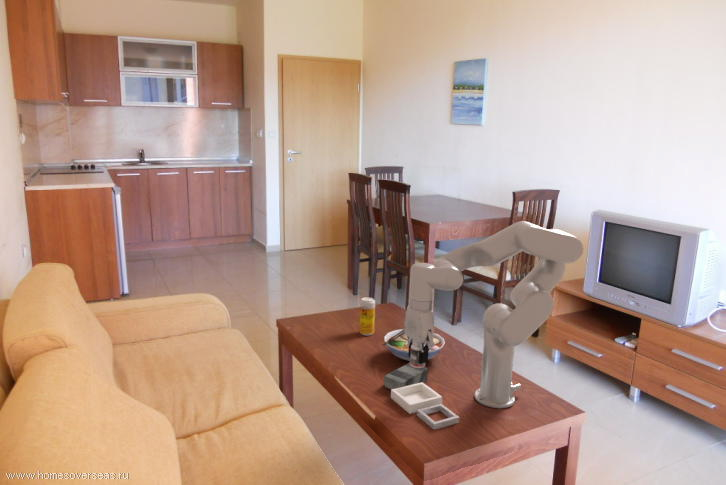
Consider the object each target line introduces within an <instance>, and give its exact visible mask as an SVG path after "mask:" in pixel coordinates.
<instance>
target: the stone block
mask: <svg viewBox="0 0 726 485" xmlns="http://www.w3.org/2000/svg"><path fill="white" fill-rule="evenodd" d="M428 376H429V369H428V367H426V366H424V367H422V368H415V367H412V366H411V365H410V362H408V363H406V364H404V365H403V366H400V367H398V368H397V369H394V370H393V371H391V372H389V373H387V374H384V377H383V386H384V388H385V389H388V390H390V391H391V390H392V389H396V388H400V387H404V386H408V385H413V384H417V383H421V382H423V383H424V384H425V383H427V382H428Z"/></svg>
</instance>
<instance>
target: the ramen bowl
mask: <svg viewBox="0 0 726 485" xmlns="http://www.w3.org/2000/svg"><path fill="white" fill-rule="evenodd" d="M383 338H384V339H383V340H384V343H383V344H382V346H386V347H387V349H388V350H389V351H390V352H391V353H392V354H393V355H394V356H396V357H397V358H400V359H401V360H405V361H408V362H410V357H409V356H408V353H409V345H410V344H408V337H407V336H406V335H405V333H404V328H402V329H401V328H400V329H395V330H391V331H389V332H387V333H386V334H385V336H383ZM433 341H434V344H435V346H434V347H432V348H431V349H430V351H428V360H430V359H432V358H434V357H436V356H437V355H438V354H439V353H440V352H441V350H442V349H443V347H444V345H445V343H446V342H445V339H444V337H442V336H441V335H439V334H437V333H435V332H434V337H433ZM425 345H426V344H425Z"/></svg>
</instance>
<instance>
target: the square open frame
mask: <svg viewBox="0 0 726 485" xmlns="http://www.w3.org/2000/svg"><path fill="white" fill-rule="evenodd" d="M438 412H441V413H442V414H443V415H444V416H446V417H447V418H444V419H440V420H437V421H435V420H434V419H432V417H430V416H429V415H431V414H434V413H438ZM416 416H417V417H418V418H419V419H420V420H422V421H423V422H424V423H425V424H427V425H428V426H429V427H430V428H431V429H433V430H434V431H435V430H439V429H443V428H445V427H446V428H447V427H448V426H453V425H456V424H460V416H459V415H457V414H456V413H454V412H453V411H452V410H450V409H449V408H448V407H446V406H445V405H444V404H443V403H442V404H437V405H434V406H430V407H426V408H422V409H419V410H417V412H416Z"/></svg>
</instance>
